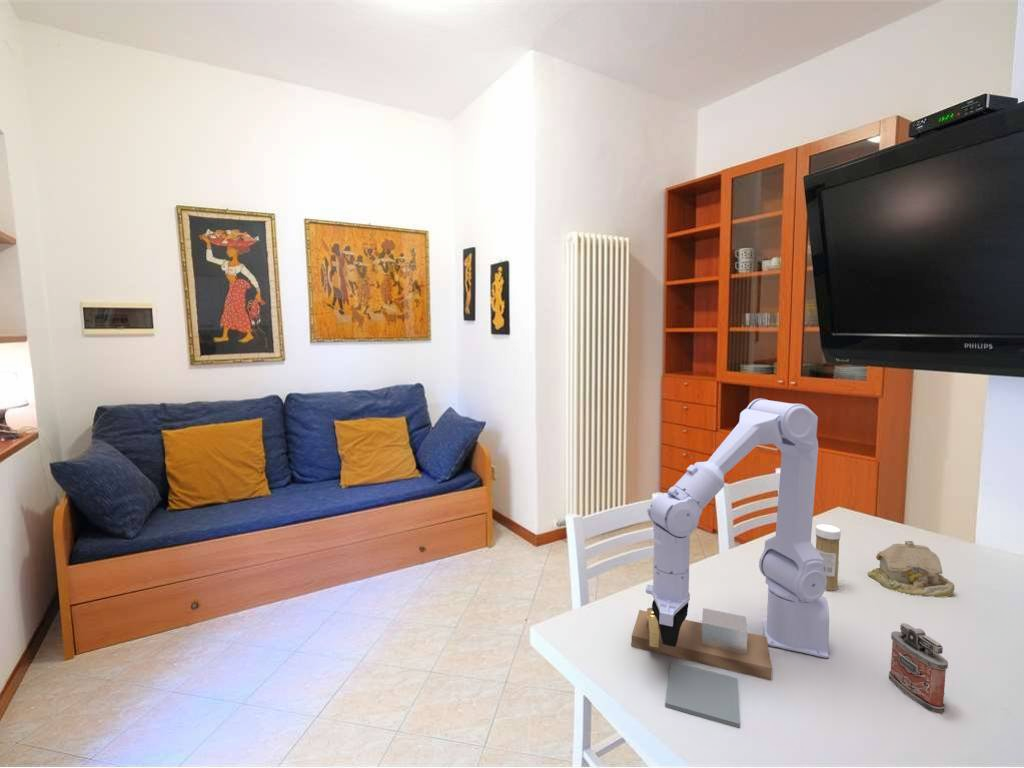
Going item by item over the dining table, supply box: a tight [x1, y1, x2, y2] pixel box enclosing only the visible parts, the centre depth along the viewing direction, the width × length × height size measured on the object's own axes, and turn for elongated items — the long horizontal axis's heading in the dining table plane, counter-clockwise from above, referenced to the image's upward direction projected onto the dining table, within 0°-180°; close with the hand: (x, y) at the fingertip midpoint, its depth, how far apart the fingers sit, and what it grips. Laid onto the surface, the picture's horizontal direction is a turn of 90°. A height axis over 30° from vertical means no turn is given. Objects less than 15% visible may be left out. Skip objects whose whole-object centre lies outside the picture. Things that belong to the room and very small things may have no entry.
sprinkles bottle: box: [815, 524, 841, 592], centre depth 105 cm, size 5×5×14 cm
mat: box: [664, 661, 741, 729], centre depth 73 cm, size 10×10×1 cm
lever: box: [646, 607, 659, 648], centre depth 85 cm, size 8×2×3 cm, turn 166°
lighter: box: [888, 622, 949, 714], centre depth 72 cm, size 8×3×10 cm, turn 5°
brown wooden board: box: [631, 609, 773, 681], centre depth 84 cm, size 22×9×2 cm, turn 66°
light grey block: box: [701, 607, 749, 655], centre depth 82 cm, size 7×5×4 cm
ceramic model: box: [867, 540, 955, 597], centre depth 106 cm, size 14×11×10 cm
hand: (669, 643), depth 81 cm, fingers closed
